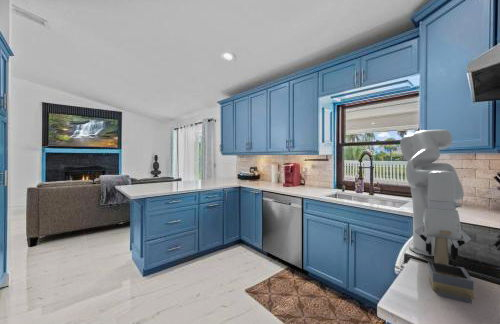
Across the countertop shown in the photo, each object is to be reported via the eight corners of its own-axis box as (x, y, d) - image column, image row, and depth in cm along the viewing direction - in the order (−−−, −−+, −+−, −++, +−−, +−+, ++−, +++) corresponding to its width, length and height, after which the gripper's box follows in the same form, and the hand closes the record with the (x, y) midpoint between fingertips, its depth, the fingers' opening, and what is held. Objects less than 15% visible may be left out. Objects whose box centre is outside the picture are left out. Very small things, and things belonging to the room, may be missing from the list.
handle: (450, 276, 76) (450, 232, 77) (427, 269, 82) (427, 227, 82) (455, 273, 79) (455, 230, 79) (433, 265, 84) (433, 225, 85)
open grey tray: (426, 272, 79) (426, 258, 79) (461, 279, 75) (461, 264, 75) (434, 294, 66) (434, 277, 66) (477, 304, 61) (477, 286, 61)
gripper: (470, 206, 79) (471, 257, 79) (410, 201, 88) (410, 247, 88) (477, 209, 73) (478, 265, 73) (412, 204, 82) (412, 254, 82)
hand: (441, 255), depth 80 cm, fingers open, 5 cm apart
